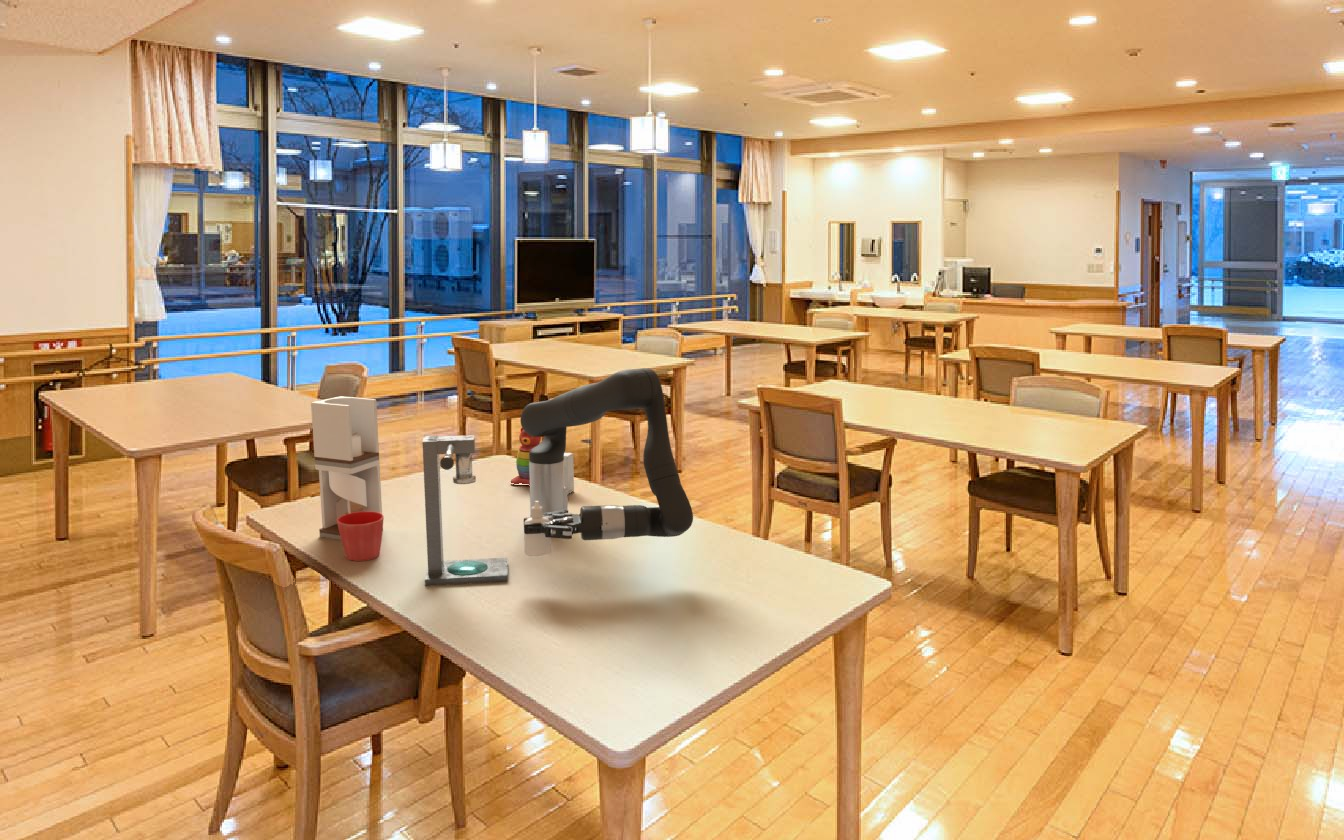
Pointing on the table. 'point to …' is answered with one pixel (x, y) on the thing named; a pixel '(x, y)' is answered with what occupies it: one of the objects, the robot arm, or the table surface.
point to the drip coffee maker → (346, 458)
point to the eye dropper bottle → (537, 542)
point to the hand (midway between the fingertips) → (524, 525)
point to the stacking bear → (524, 457)
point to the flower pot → (361, 534)
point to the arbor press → (437, 567)
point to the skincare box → (568, 472)
